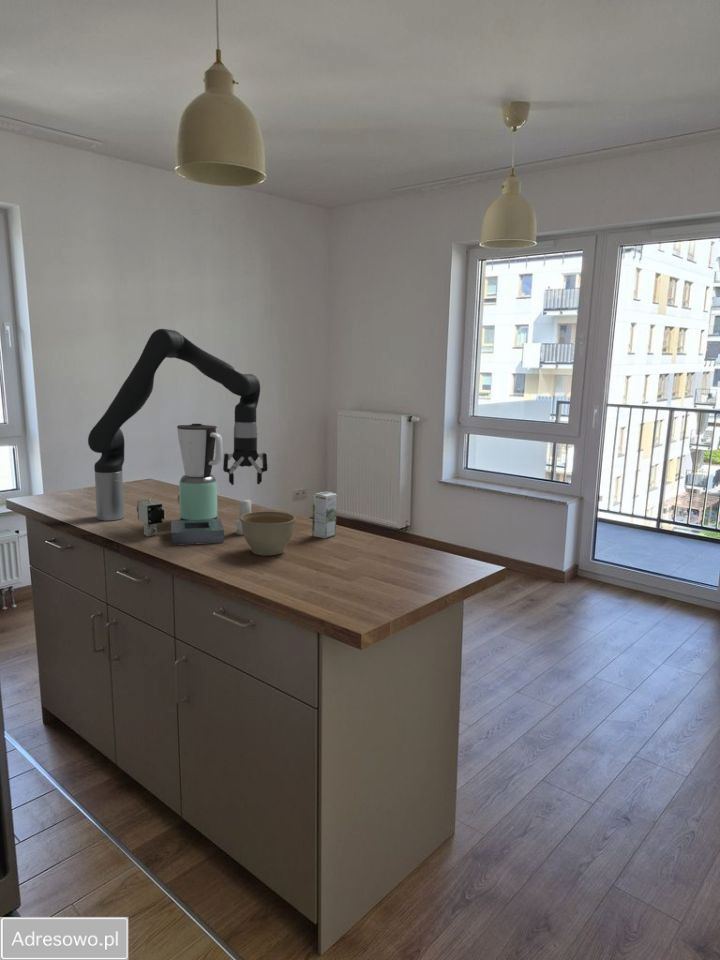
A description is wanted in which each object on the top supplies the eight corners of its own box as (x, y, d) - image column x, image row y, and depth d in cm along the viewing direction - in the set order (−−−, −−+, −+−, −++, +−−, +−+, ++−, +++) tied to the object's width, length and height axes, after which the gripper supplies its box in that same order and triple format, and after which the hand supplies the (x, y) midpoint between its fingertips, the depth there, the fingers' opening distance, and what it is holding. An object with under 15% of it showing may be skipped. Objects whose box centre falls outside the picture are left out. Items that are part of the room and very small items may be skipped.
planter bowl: (250, 562, 184) (250, 525, 182) (234, 547, 198) (234, 513, 196) (302, 556, 191) (303, 520, 189) (283, 542, 205) (283, 509, 203)
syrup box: (322, 532, 218) (323, 490, 216) (336, 535, 215) (337, 493, 213) (311, 536, 214) (312, 493, 211) (325, 539, 211) (326, 495, 208)
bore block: (171, 532, 214) (171, 520, 213) (220, 530, 218) (220, 518, 218) (171, 545, 199) (171, 532, 198) (224, 542, 203) (224, 530, 203)
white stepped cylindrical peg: (235, 531, 218) (235, 499, 216) (253, 530, 220) (253, 498, 218) (237, 535, 212) (236, 503, 210) (255, 534, 214) (255, 502, 212)
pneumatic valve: (150, 540, 204) (149, 503, 202) (136, 532, 213) (135, 496, 211) (167, 537, 208) (166, 501, 206) (153, 530, 217) (152, 495, 214)
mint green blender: (167, 522, 227) (164, 423, 221) (193, 515, 239) (191, 421, 233) (209, 529, 219) (208, 427, 213) (234, 521, 231) (233, 424, 225)
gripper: (265, 434, 216) (265, 481, 219) (222, 434, 212) (222, 482, 215) (268, 437, 209) (268, 486, 212) (224, 436, 205) (224, 486, 208)
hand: (245, 484), depth 213 cm, fingers open, 8 cm apart
